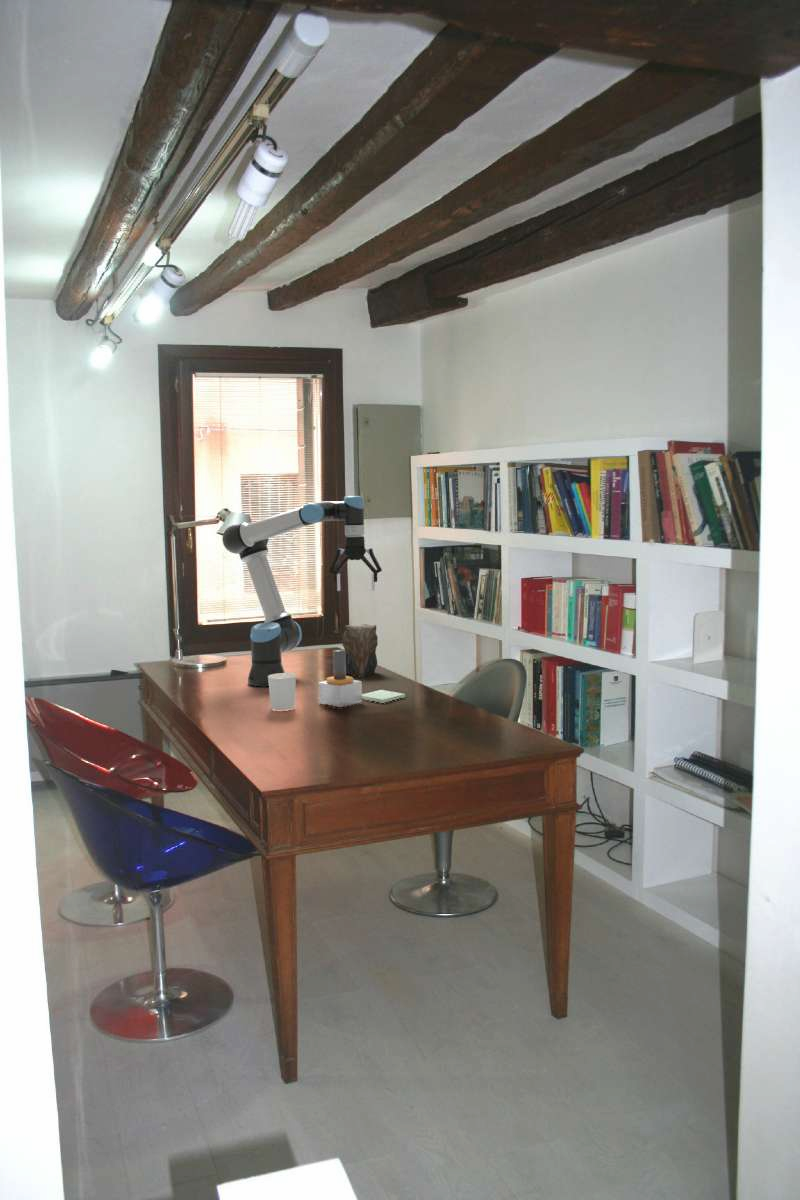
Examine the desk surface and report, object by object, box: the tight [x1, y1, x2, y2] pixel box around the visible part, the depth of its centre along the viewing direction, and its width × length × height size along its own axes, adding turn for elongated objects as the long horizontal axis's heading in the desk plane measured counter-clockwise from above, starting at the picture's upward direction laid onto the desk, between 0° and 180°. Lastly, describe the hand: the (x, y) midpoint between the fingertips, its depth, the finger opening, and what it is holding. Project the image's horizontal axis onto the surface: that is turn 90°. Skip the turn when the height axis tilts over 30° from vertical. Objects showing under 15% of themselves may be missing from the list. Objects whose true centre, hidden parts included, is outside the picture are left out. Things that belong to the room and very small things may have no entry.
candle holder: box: [268, 672, 297, 710], centre depth 368 cm, size 10×10×12 cm
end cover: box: [325, 649, 354, 685], centre depth 375 cm, size 10×10×17 cm
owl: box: [341, 623, 379, 678], centre depth 429 cm, size 13×13×20 cm
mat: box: [362, 689, 406, 704], centre depth 383 cm, size 12×12×2 cm
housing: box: [317, 679, 363, 707], centre depth 375 cm, size 11×11×8 cm
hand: (356, 590), depth 408 cm, fingers open, 13 cm apart
